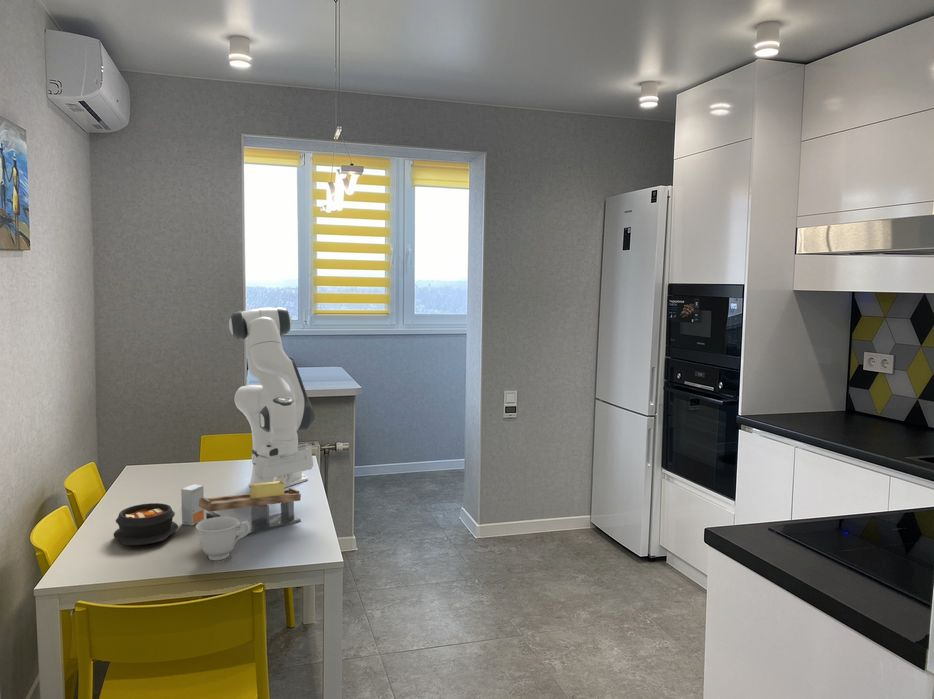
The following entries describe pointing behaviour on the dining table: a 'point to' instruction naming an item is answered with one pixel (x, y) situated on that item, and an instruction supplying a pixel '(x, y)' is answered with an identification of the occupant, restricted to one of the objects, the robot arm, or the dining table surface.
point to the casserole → (145, 524)
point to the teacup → (219, 535)
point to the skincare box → (192, 504)
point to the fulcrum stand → (265, 518)
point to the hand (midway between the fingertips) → (285, 487)
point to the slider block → (267, 489)
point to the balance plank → (246, 501)
